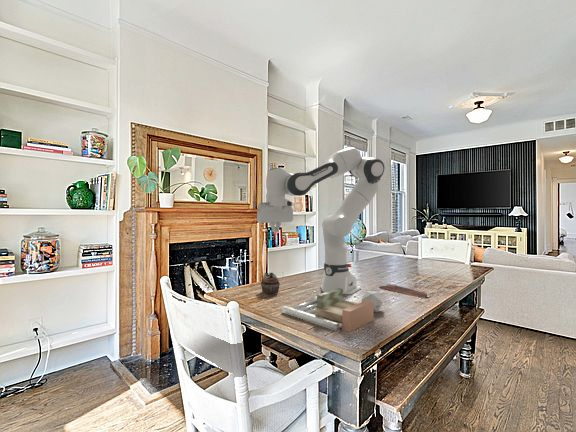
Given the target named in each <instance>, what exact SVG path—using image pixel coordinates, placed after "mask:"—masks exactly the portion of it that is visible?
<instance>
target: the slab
mask: <svg viewBox="0 0 576 432" xmlns="http://www.w3.org/2000/svg"><path fill="white" fill-rule="evenodd" d="M316 296H317V307H316V308H315V314H316V315H319V316H322V317H325V318H328V319H331V320H335V321H338V323H339V322H341V323H342V310H343V309H345V308H348V307H350V306H353V305H356V304H358V303H356V302H352V301H348V300H344V294H343V289H340V288H338V289H335V290H331V291H328V292H322V293H318V294H316Z"/></svg>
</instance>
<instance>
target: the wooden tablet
mask: <svg viewBox="0 0 576 432" xmlns="http://www.w3.org/2000/svg"><path fill="white" fill-rule="evenodd" d="M378 288H379V289H382V290H386V291H390V292H394V293H400V294H403V295H408V296H413V297H417V296H418V298H422V297H427V294H428V293H426V292H423V291H419V290H416V289H412V288H407V287H404V286H400V285H394V284H389V283H388V284H385V285H380V286H379V287H378Z"/></svg>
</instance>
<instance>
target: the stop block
mask: <svg viewBox="0 0 576 432" xmlns="http://www.w3.org/2000/svg"><path fill="white" fill-rule="evenodd" d="M373 309H374V302H372V301H368V300H366V301H363V302H362V301H361V302H359V303H357V304H356V305H353V306H350V307H348V308H345V309H343V310H342V328H341V330H342V331H345V332H348V333H349V332H352V331H354V330H356V329H359V328H360V327H363V326H365V325H366V324H368V323H371V322H373V321H374V312H373Z"/></svg>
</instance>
